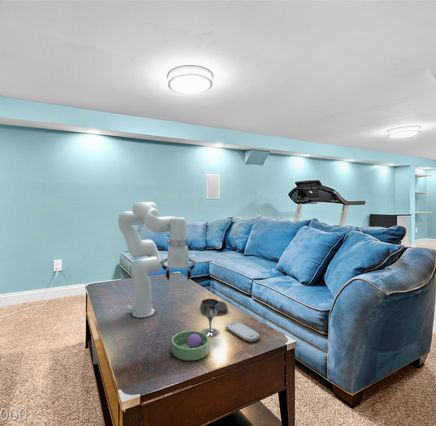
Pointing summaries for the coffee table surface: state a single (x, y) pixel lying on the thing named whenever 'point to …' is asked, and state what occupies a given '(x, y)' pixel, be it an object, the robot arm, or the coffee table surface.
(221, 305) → the media streaming box
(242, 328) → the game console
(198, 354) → the bowl
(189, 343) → the ball
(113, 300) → the coffee table surface
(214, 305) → the wine glass
